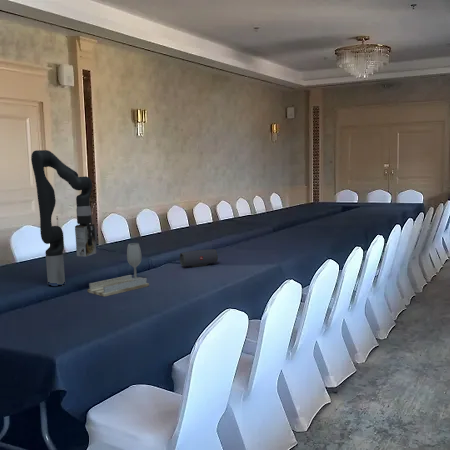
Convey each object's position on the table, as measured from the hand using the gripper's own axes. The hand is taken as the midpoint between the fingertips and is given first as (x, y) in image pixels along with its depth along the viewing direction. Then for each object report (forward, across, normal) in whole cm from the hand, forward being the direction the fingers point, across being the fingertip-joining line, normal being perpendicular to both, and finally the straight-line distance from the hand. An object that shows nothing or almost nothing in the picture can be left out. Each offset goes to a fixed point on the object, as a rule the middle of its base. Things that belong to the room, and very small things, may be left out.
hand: (86, 244), depth 296 cm
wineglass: (+24, +3, +28) cm, 37 cm away
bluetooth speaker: (+24, +2, +77) cm, 81 cm away
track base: (+24, +13, +10) cm, 29 cm away
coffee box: (+6, 0, 0) cm, 6 cm away
